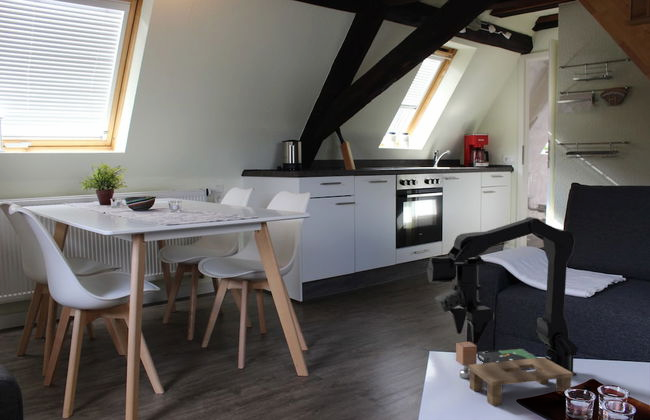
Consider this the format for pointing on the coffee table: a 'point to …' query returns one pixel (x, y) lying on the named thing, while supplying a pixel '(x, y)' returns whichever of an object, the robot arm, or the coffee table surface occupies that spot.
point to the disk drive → (504, 355)
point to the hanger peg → (466, 357)
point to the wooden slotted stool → (516, 375)
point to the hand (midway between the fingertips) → (466, 338)
